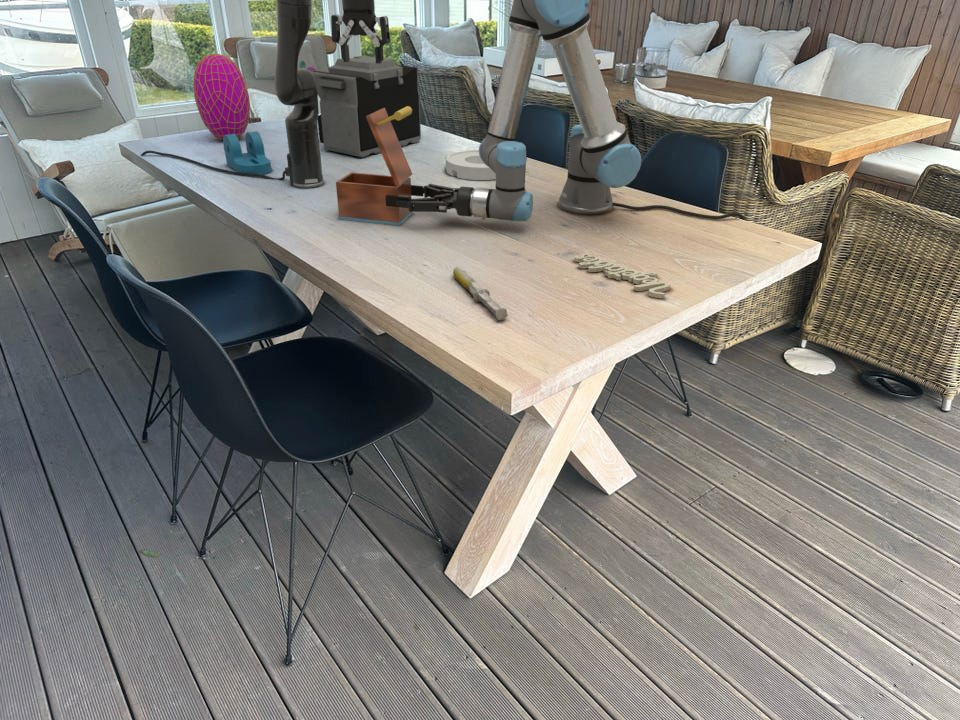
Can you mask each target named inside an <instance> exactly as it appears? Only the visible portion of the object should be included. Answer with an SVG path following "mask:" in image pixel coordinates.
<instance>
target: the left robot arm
mask: <svg viewBox="0 0 960 720" xmlns="http://www.w3.org/2000/svg"><path fill="white" fill-rule="evenodd" d="M312 1H313V0H276V25H277V29H276V56H275V57H276V58H275V69H274V91H275V94H276V97H277V99H278V101H279V102H280V103H281V104H282V105H284V106H294V107H293V109H292V111H291V112H290V113H289V114H288V115H287V116H286V117H285V120H284V123H285V131H286V138H287V146H288V153H287V154H286V161H287V166H286V167H284V171H283V172H282V174H281V176H282V177H280V178H276V177H273V176H268V175H265V174H250V173H242V172H237V171H235V170H228V169H223V168H219V167H215V166H212V165H208V164H205V163H202V162H199V161H197V160H194V159H190V158H188V157H184V156H181V155H176V154H172V153H164V152H159V151H155V150H145V151H143V152H142V153H141V154H140V156H141V157H144V156H145V155H146V154H154V155H159V156H164V157H172V158H175V159H179V160H183V161H187V162H190V163H192V164H196V165H198V166H201V167H204V168H207V169H211V170H214V171H217V172H222V173H226V174H231V175H240V176H246V177H255V178H256V177H257V178H264V179H267V180H274V181H275V180H276V181H283V180H285V179H286V177H289V184H290V186H294V187H296V188H300V189H301V188H303V189H310V188H317V187H320V186H322V185H324V184H325V182H324V175H323V167H322V157H321V147H320V139H319V130H318V116H319V115H320V114H319V112H320V111H319V110H320V109H319V96H318V92H317V85H316V81H315V79H314V77H313V75H312V73H311V72H310V71H308V70H306V69H300V68H299V56H300V52H301V50H302V48H303V45H304V43H305V40H306V39H307V36H308V34H309V31H310V28H311V24H312V15H313V14H312V12H313V10H312V9H313V8H312V7H313V5H312V4H313V2H312ZM341 3H342V10H343V14H342V15H339V14H338V13H337V14H332V15H331V16H330V24H331V27H330V28H331V41H332V43H336V44H337V45H339V47H340V59H341V58H342V59H343V61H344V62H349V61H350V58H351V57H350V46H349V44H348V43H349V41H350V40H351V38H352V37H353V36H354V37H355V36H362V37H366V36H367V37H368V38H369V40H371V41H372V43H373V44H374V57H375V58H376V64H380V63H382V61H383V59H384V58H385V57H384V46H385V45H387V44H390V43H391V34H390V33H391V32H390V24H389V23H390V22H389V17H388V16H387V15H382V16H376V15H377V14H376V11H375V10H376V7H375V6H376V5H375V0H341ZM342 23H343V24H344V25H345V29H344V31H343V32H342V34H341V25H342ZM376 25H378V27H380V34H379V32H378V30H377V29H376V28H375V26H376ZM380 35H381V36H380ZM297 68H299V69H297Z"/></svg>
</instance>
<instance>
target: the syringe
mask: <svg viewBox="0 0 960 720" xmlns="http://www.w3.org/2000/svg"><path fill="white" fill-rule="evenodd" d="M452 274H453V277H454V279H455V280H457V281H458V282H459V283H460V285H462V287H464V289H466V290H467V291H468V293H470V295H471V296H472V298H473V300H474V302H477V303H478V302H480V303H482V304H483V305H484V306H485V307H486V308H487V309H488V310H489V311H490V312H491V313H492V314H493V315H494V316H495V317H496V320H497V321H503V320H504V319H506V318H507V317H509V314H508V310H507V308H506V307H502V306H501V305H500V303H498V302H497V301H496V300H494V299H493V298H492V297H491V296H490V295H491V293H490V290H488V289H486V288H483V287H482V286H481V285H480V284H479V283H478V282H477V281H476V280H474V278H473V277H471V275H469V274H468V273H467V272H466V270H465V269H464V268H463V267H462V266H456V267H454V268H453V271H452Z"/></svg>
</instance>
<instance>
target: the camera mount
mask: <svg viewBox="0 0 960 720" xmlns="http://www.w3.org/2000/svg"><path fill="white" fill-rule="evenodd" d="M222 140H223V141H222V143H223V149H224V150H223V151H224V156H225V161H226V165H227V166H228V167H230V168H231V169H232V170H233V171H235V172H242V173H250V174H261V175H265V174H268V173H271V172H272V164H271V159H270V158H268V157H267V156H266V153H265V145H264V141H263V139H262V136H261V134H260V132H258V131H247V132H246V133H245V146H246V152H243V151H242V150H243V149H242V146H241V142H240V140H239V138H237V136H236V135H235V134H230V135H224V137H223V139H222Z"/></svg>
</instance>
